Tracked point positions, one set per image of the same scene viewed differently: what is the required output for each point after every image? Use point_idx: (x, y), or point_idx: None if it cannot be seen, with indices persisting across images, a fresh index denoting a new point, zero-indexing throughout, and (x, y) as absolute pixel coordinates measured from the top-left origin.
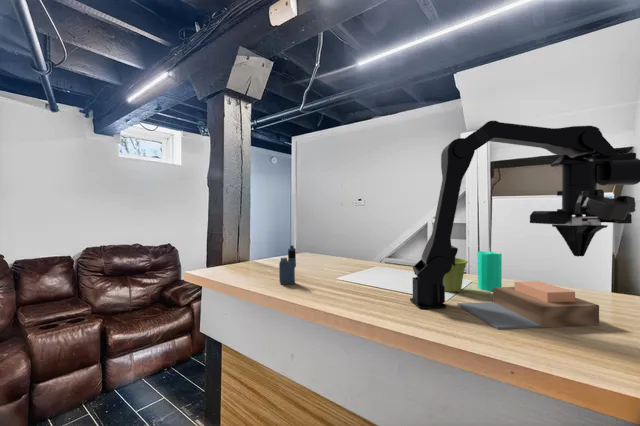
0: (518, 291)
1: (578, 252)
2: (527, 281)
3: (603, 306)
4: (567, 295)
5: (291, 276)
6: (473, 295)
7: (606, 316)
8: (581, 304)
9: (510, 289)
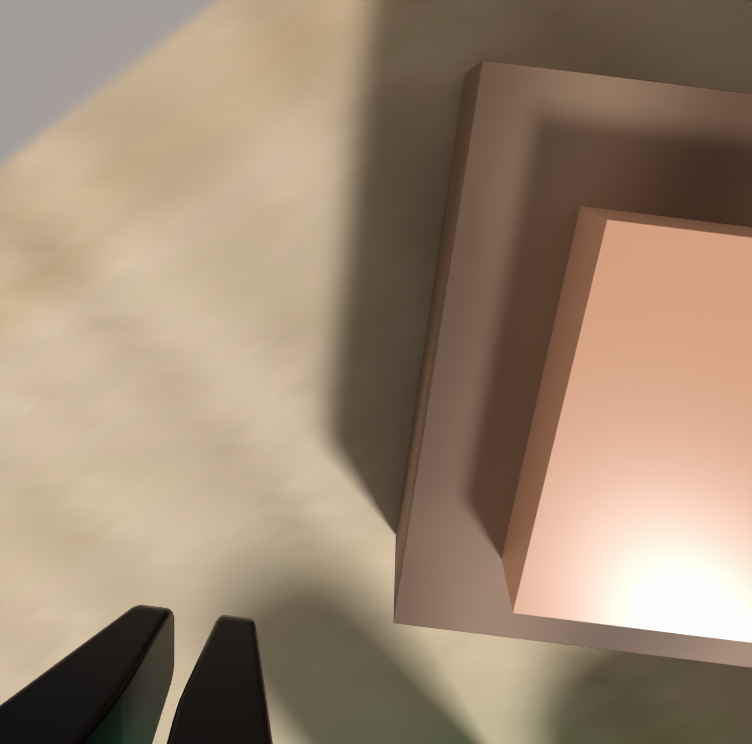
0: None
1: (256, 664)
2: (642, 621)
3: (11, 381)
4: (684, 224)
5: None
6: (710, 736)
7: (207, 214)
8: (625, 117)
9: None
